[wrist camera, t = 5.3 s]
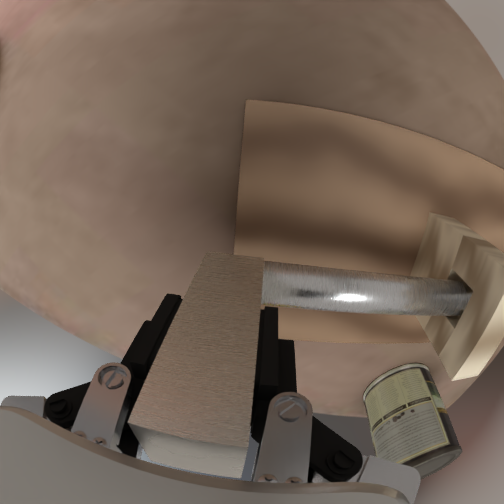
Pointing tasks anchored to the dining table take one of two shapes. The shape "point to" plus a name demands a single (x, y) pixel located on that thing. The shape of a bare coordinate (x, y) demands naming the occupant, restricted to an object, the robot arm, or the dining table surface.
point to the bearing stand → (374, 223)
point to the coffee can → (410, 420)
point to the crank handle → (250, 348)
